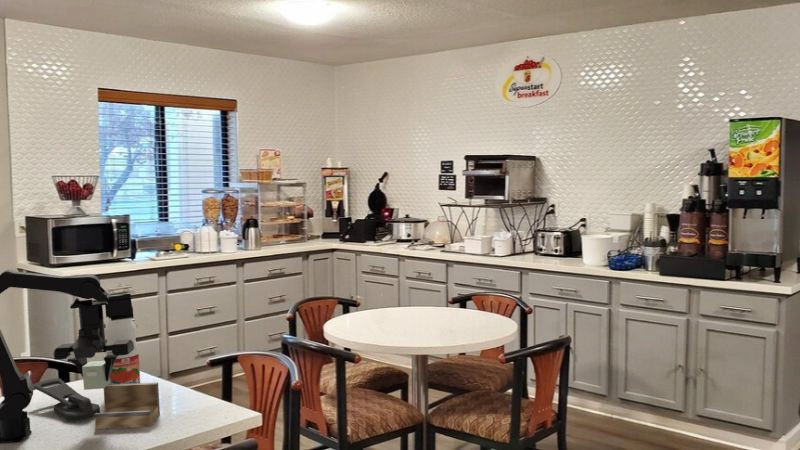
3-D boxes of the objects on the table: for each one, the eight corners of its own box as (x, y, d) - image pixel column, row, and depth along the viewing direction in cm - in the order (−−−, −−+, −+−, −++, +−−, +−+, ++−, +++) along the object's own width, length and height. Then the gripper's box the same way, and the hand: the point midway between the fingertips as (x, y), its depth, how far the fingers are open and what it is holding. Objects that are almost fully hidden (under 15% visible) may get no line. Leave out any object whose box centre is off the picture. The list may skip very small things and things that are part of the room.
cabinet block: (83, 390, 183) (80, 367, 182) (91, 383, 188) (89, 361, 188) (102, 389, 183) (100, 366, 182) (110, 382, 189) (108, 360, 188)
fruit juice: (138, 387, 220) (133, 297, 217) (143, 395, 211) (137, 302, 209) (105, 392, 215) (100, 301, 213) (109, 401, 207) (103, 306, 205)
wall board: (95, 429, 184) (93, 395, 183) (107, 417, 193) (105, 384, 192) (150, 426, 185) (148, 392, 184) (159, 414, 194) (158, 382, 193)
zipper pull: (60, 376, 210) (104, 391, 195) (61, 398, 211) (105, 414, 195) (29, 384, 204) (71, 400, 188) (30, 406, 204) (73, 424, 188)
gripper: (41, 332, 176) (47, 394, 177) (118, 327, 177) (123, 388, 179) (59, 322, 187) (65, 380, 188) (132, 318, 188) (137, 375, 190)
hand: (97, 381), depth 186 cm, fingers closed on cabinet block, 5 cm apart
